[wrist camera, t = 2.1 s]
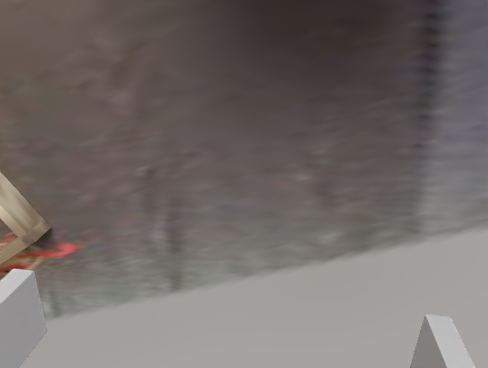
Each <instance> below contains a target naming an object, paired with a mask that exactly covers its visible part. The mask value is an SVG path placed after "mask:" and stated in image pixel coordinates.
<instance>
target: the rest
mask: <svg viewBox="0 0 488 368" xmlns="http://www.w3.org/2000/svg"><path fill="white" fill-rule="evenodd" d="M0 218H1V219H2V220H3V222H4V223H5V224H6V225H7V226H8V227H9V228H10V229H11V230H12V231H13V232H14V233H15V234H16V235H17V236H18V237H17V238H15V239H14V240H12V241H11V242H9V243H8V244H6V245H5V246H3V247H2V248H0V264H2V263H4V262H5V261H7V260H8V259H10V258H11V257H13V256H14V255H16V254H17V253H19V252H20V251H22V250H24V249H25V248H27V247H28V246H30V245H31V244H33V243H34V242H36V241H37V240H38V239H39V238H40V237H41V236H42V235H44V234H45V233H46V232H47V231H48V230H49V229H50V228H51V227H50V226H49V225H48V223H47V222H46V221H45V220H44V219H43V218H42V217H41V216H40V215H39V213H38V212H37V211H36V210H35V209H34V208H33V207H32V206H31V205H30V204H29V202H28V201H27V200H26V199H25V198H24V197H23V196H22V195H21V194H20V193H19V191H18V190H17V189H16V188H15V187H14V186H13V185H12V184H11V183H10V181H9V180H8V179H7V178H6V177H5V176H4V175H3V174H2V173H1V172H0Z"/></svg>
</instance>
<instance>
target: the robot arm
mask: <svg viewBox="0 0 488 368" xmlns="http://www.w3.org/2000/svg"><path fill="white" fill-rule="evenodd" d="M46 332H47V328H46V323H45V319H44V314H43V310H42V305H41V300H40V296H39V291H38V287H37V282H36V278H35V273H34V271H30V270H21V269H12V270H11V271H10V272H9V273H8V274H7V275H6V276H5V277H4V278H3V279H2V280H0V368H19V367H20V366H21V364H22V363H23V362H24V360H25V359H26V358H27V357H28V355H29V354H30V353H31V351H32V350H33V349H34V348H35V346H36V345H37V344H38V342H39V341H40V340H41V339H42V337H43V336H44V335H45V333H46ZM410 368H475V366H474V364H473V362H472V360H471V358H470V356H469V354H468V352H467V350H466V348H465V346H464V344H463V341H462V340H461V337H460V335H459V333H458V331H457V330H456V327H455V325H454V323H453V321H452V319H451V317H444V316H436V315H427V314H425V317H424V320H423V324H422V327H421V331H420V334H419V338H418V342H417V345H416V348H415V352H414V356H413V359H412V363H411V366H410Z"/></svg>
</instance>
